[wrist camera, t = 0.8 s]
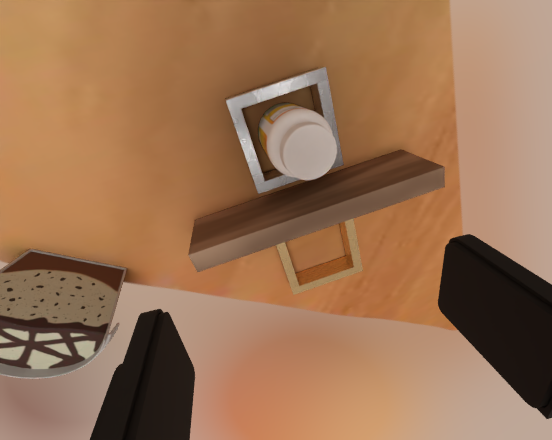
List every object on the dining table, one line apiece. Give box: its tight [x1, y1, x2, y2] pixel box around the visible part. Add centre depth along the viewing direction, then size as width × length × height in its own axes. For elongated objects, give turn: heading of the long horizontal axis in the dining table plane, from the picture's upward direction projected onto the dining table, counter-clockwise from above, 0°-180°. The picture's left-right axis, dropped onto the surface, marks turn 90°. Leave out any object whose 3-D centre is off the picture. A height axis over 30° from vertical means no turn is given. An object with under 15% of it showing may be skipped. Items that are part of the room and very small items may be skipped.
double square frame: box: [225, 67, 363, 295], centre depth 31 cm, size 23×9×2 cm, turn 16°
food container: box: [0, 249, 127, 379], centre depth 28 cm, size 12×6×10 cm, turn 68°
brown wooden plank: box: [188, 150, 445, 272], centre depth 29 cm, size 2×24×7 cm, turn 106°
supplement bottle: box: [258, 103, 337, 180], centre depth 25 cm, size 5×5×10 cm
